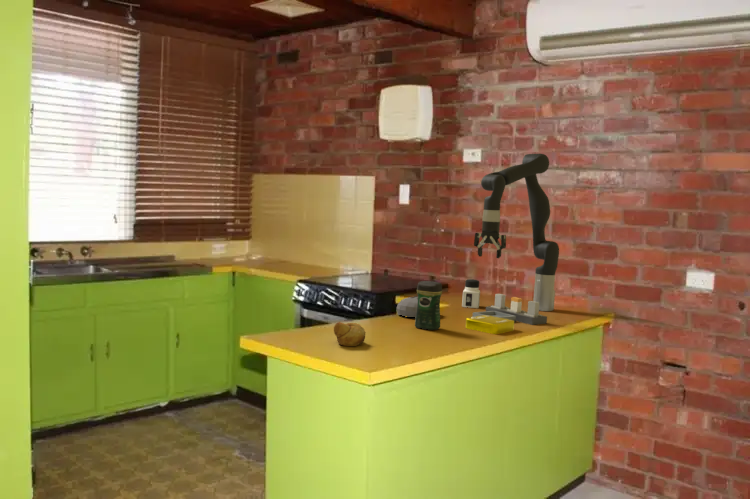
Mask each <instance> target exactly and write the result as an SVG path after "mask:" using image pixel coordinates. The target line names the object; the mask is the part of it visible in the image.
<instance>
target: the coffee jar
mask: <svg viewBox="0 0 750 499" xmlns="http://www.w3.org/2000/svg"><path fill="white" fill-rule="evenodd" d="M416 287H417V288H416V294H417V296H418V305H417V313H416V318H414V319H415V320H414V326H415V328H417V329H420V328H422V329H421V330H426V329H428V331H431V330H432V331H433V330H434V331H436V330H439V329H440V328H441V310H440V309H441V306H440V305H441V302H440V301H441V296H442V294H443V285H442V283H441V282H437V281H432V280H431V281H430V280H422V281H421V280H420V281H418V283H417V286H416Z"/></svg>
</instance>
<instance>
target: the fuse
mask: <svg viewBox="0 0 750 499" xmlns="http://www.w3.org/2000/svg"><path fill="white" fill-rule="evenodd" d="M526 312H527V314H530V315H534V317H538V315H539V314H540V313H539V312H540V310H539V302H535V301H533V300H529V301H528V302H527V311H526Z"/></svg>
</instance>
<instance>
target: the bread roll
mask: <svg viewBox="0 0 750 499" xmlns="http://www.w3.org/2000/svg"><path fill="white" fill-rule="evenodd" d="M333 333H334V335H335V336H336V337H335V338H336V339H337V340H336V342H337V343H338V345H340V346H344V347H357V346H359V345H361V344H363V343H364V342H365V339H366V333H367V332H366V330H365V329H364V327H363V326H362V325H361V324H359V323H356V322H348V323H343V322H341V321H338V322H336V323H335V324H334V326H333Z"/></svg>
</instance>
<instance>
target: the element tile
mask: <svg viewBox="0 0 750 499" xmlns="http://www.w3.org/2000/svg"><path fill="white" fill-rule="evenodd" d="M465 329H467V330H472V331H477V332H481V333H485V334H489V335H490V334H491V335H499V334H504V333H509V332H514V329H515V322H514V320H509V319H504V318H499V317H494V316H489V315H482V316H476V317H472V316H471V317H466V319H465Z"/></svg>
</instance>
